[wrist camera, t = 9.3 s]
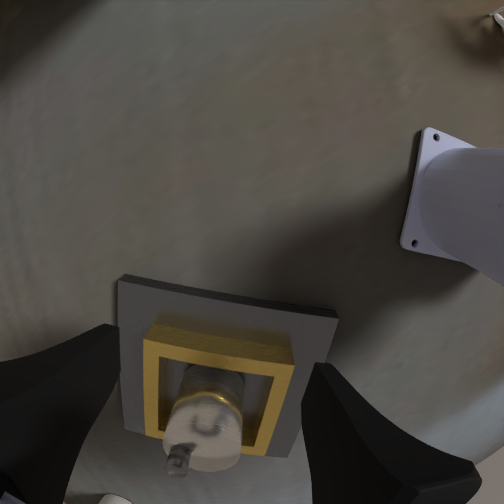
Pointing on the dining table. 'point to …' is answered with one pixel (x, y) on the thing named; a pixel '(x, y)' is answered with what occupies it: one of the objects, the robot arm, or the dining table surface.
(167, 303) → the fill port
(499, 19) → the action figure
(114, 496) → the soft serve ice cream cone
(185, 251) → the dining table surface
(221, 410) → the spout can
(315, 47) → the dining table surface
